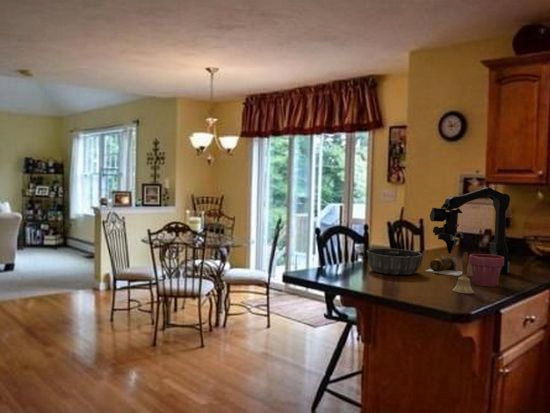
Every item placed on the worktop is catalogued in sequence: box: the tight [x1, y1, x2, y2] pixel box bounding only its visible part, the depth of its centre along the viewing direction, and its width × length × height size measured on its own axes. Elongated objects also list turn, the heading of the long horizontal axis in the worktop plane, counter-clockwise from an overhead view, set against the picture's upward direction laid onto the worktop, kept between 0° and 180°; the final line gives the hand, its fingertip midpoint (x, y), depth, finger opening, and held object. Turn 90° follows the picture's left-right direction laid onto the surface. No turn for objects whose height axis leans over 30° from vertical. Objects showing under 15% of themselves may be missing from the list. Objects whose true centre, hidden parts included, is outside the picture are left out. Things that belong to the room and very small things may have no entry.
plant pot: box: [468, 253, 504, 288], centre depth 230 cm, size 14×14×13 cm
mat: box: [424, 268, 463, 277], centre depth 258 cm, size 16×11×1 cm
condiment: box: [429, 254, 457, 271], centre depth 260 cm, size 7×8×12 cm
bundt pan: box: [366, 247, 423, 276], centre depth 253 cm, size 26×26×10 cm
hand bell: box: [452, 251, 475, 295], centre depth 213 cm, size 8×8×16 cm
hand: (449, 253), depth 262 cm, fingers closed
